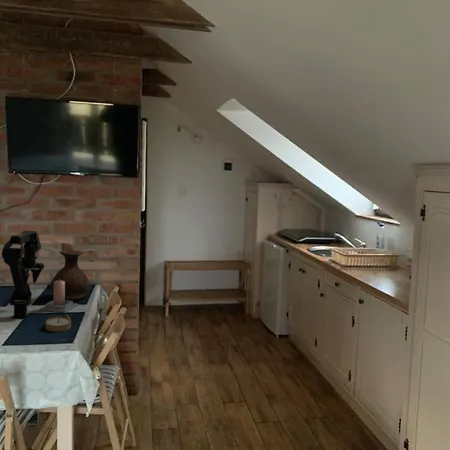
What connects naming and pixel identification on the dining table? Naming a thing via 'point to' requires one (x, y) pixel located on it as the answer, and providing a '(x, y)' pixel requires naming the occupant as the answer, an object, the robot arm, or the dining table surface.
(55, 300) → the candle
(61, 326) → the alarm clock
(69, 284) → the jug
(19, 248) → the robot arm
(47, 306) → the dish
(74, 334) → the dining table surface
